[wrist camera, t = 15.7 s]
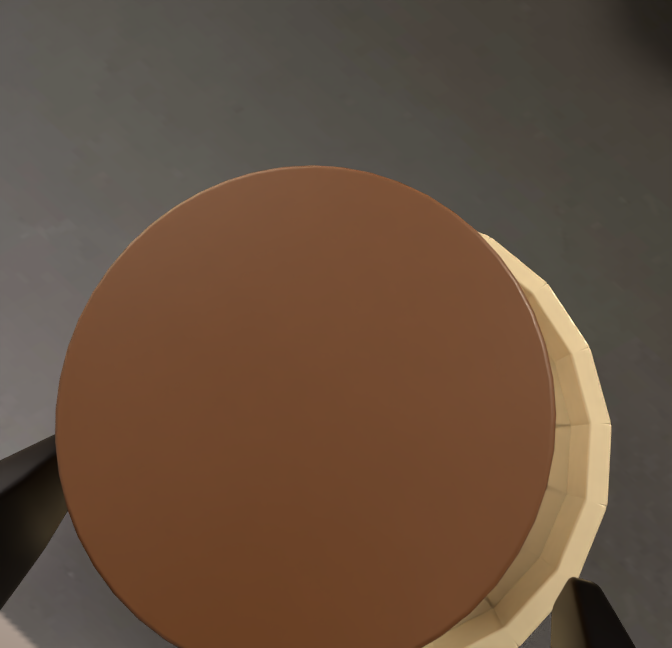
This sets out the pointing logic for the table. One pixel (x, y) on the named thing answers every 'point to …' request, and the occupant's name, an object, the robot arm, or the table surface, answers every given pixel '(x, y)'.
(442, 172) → the table surface
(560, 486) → the bowl
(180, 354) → the canister
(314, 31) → the table surface
